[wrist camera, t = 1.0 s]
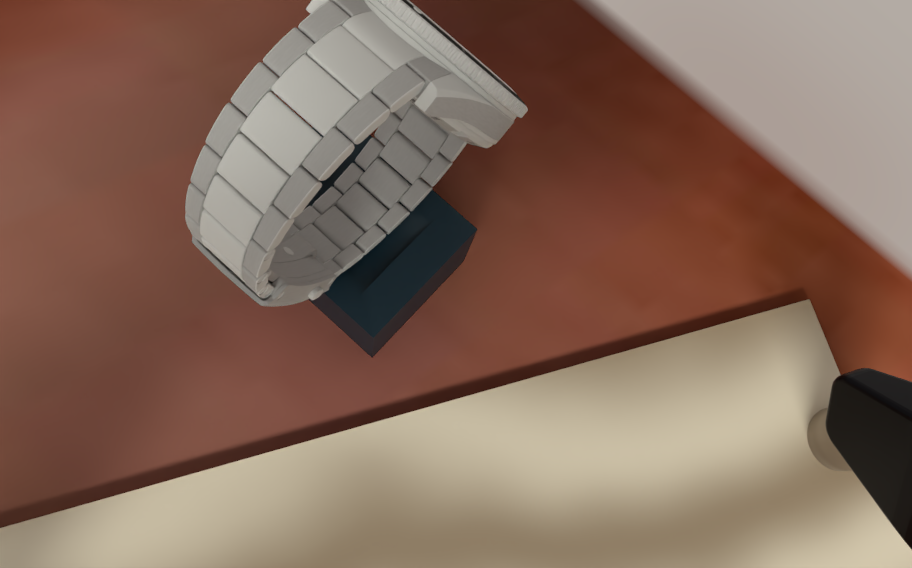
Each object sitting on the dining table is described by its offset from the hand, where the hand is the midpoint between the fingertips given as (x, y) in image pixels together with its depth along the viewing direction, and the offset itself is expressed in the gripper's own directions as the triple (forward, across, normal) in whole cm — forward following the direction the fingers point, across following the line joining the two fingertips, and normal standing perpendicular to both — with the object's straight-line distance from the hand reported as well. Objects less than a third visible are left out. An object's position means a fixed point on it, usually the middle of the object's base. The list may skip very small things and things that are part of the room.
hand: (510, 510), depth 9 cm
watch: (+16, 0, +4) cm, 16 cm away
